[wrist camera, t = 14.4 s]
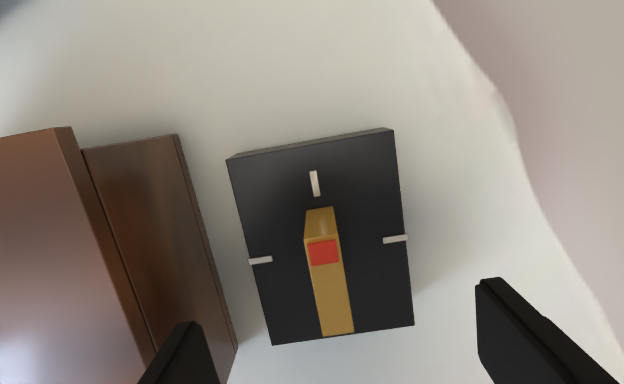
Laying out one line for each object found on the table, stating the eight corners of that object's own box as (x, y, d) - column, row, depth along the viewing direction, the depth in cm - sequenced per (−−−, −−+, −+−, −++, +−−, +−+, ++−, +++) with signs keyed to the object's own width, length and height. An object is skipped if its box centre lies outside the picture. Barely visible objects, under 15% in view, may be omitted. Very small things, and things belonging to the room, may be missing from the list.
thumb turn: (346, 285, 18) (355, 336, 14) (321, 289, 18) (322, 340, 14) (332, 205, 17) (338, 235, 13) (306, 210, 17) (303, 241, 13)
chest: (-16, 169, 19) (-231, 206, 12) (178, 133, 18) (83, 148, 11) (76, 370, 23) (-41, 496, 15) (238, 347, 22) (199, 467, 15)
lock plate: (405, 301, 21) (417, 327, 19) (275, 320, 22) (269, 348, 19) (385, 127, 18) (396, 129, 16) (235, 153, 19) (222, 160, 16)
